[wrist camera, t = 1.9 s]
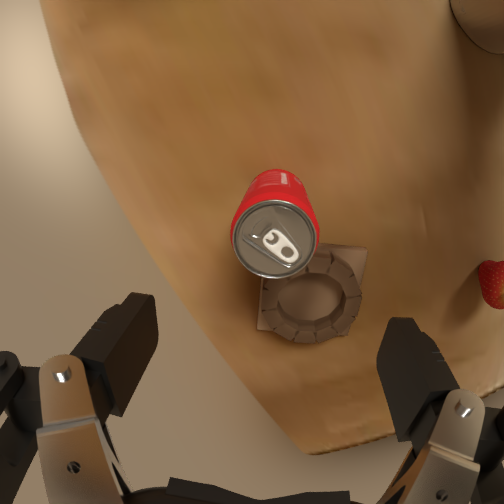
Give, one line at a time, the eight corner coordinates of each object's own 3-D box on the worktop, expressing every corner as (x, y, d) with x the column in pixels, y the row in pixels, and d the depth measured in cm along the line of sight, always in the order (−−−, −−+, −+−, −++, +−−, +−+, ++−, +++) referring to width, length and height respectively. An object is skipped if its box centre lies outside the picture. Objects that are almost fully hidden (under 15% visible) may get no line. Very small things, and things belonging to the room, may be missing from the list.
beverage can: (275, 155, 27) (272, 175, 16) (316, 195, 28) (339, 240, 17) (237, 196, 29) (209, 242, 18) (277, 233, 30) (275, 298, 19)
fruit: (503, 267, 29) (539, 299, 21) (474, 295, 30) (506, 332, 23) (490, 238, 28) (531, 267, 20) (459, 268, 29) (495, 304, 22)
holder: (365, 247, 30) (373, 259, 27) (346, 330, 33) (350, 346, 31) (264, 238, 30) (262, 250, 27) (257, 324, 34) (255, 340, 31)
